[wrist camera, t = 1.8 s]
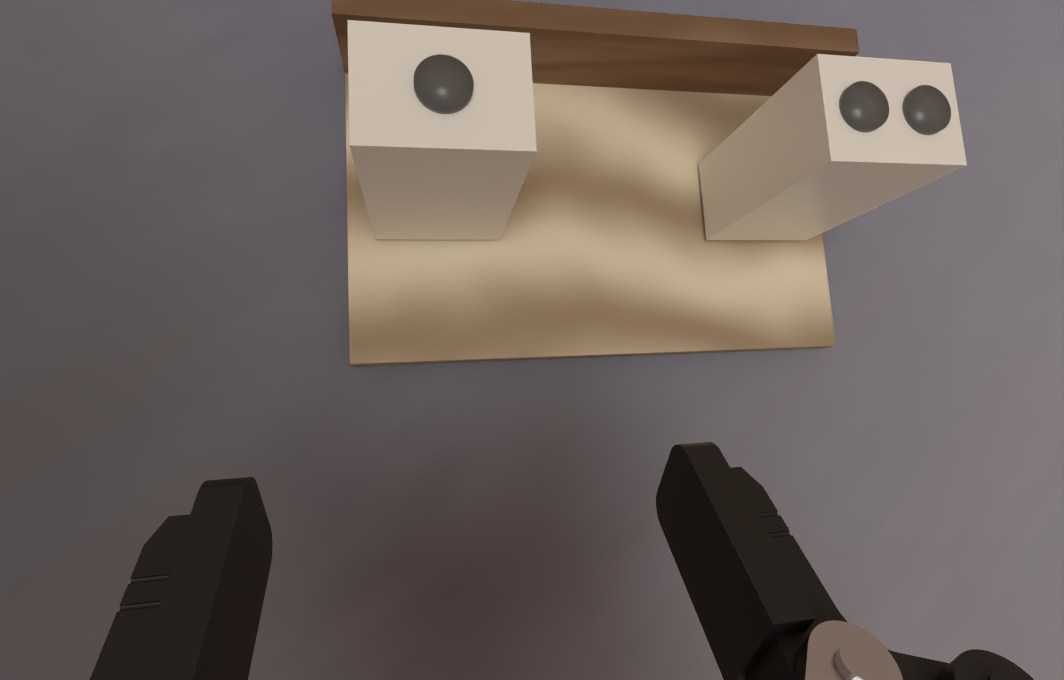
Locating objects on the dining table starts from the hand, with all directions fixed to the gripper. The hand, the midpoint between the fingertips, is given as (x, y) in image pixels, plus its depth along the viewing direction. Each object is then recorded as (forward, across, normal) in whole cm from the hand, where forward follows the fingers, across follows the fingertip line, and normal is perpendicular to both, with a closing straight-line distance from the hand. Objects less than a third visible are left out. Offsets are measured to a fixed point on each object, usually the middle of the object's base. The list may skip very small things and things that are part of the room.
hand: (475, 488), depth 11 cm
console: (+19, -8, +3) cm, 21 cm away
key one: (+18, 0, +2) cm, 18 cm away
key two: (+18, -16, +2) cm, 24 cm away
